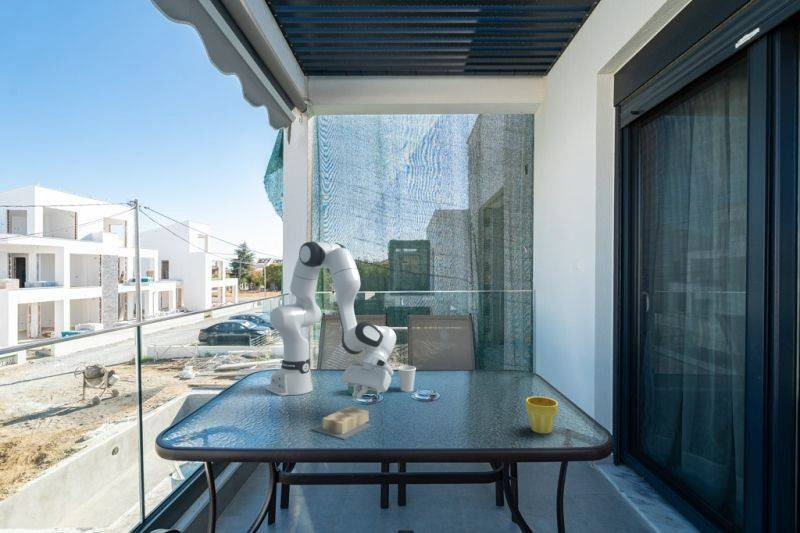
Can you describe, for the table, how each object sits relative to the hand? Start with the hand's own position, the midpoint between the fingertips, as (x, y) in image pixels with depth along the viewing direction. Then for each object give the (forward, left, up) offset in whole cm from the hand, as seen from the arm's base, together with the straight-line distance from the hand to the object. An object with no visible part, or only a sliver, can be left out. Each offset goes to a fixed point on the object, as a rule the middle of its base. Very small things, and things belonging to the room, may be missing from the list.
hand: (355, 397), depth 148 cm
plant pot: (+58, +28, -9) cm, 65 cm away
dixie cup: (-5, +41, -9) cm, 43 cm away
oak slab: (0, +2, -6) cm, 6 cm away
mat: (0, -8, -8) cm, 11 cm away
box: (-17, +27, -9) cm, 34 cm away
